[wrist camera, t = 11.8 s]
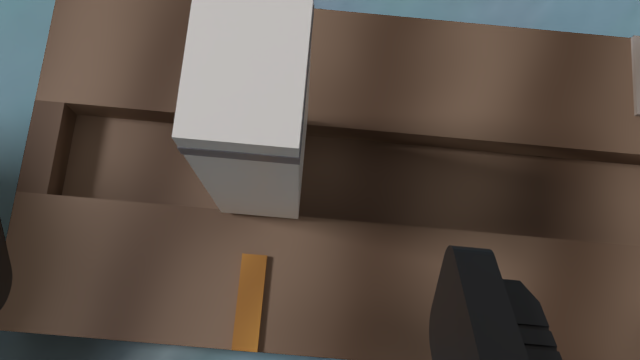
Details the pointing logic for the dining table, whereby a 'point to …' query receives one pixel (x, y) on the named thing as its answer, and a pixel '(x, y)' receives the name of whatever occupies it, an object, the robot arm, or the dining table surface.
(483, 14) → the dining table surface
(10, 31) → the dining table surface
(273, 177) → the fader tab
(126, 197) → the fader console
